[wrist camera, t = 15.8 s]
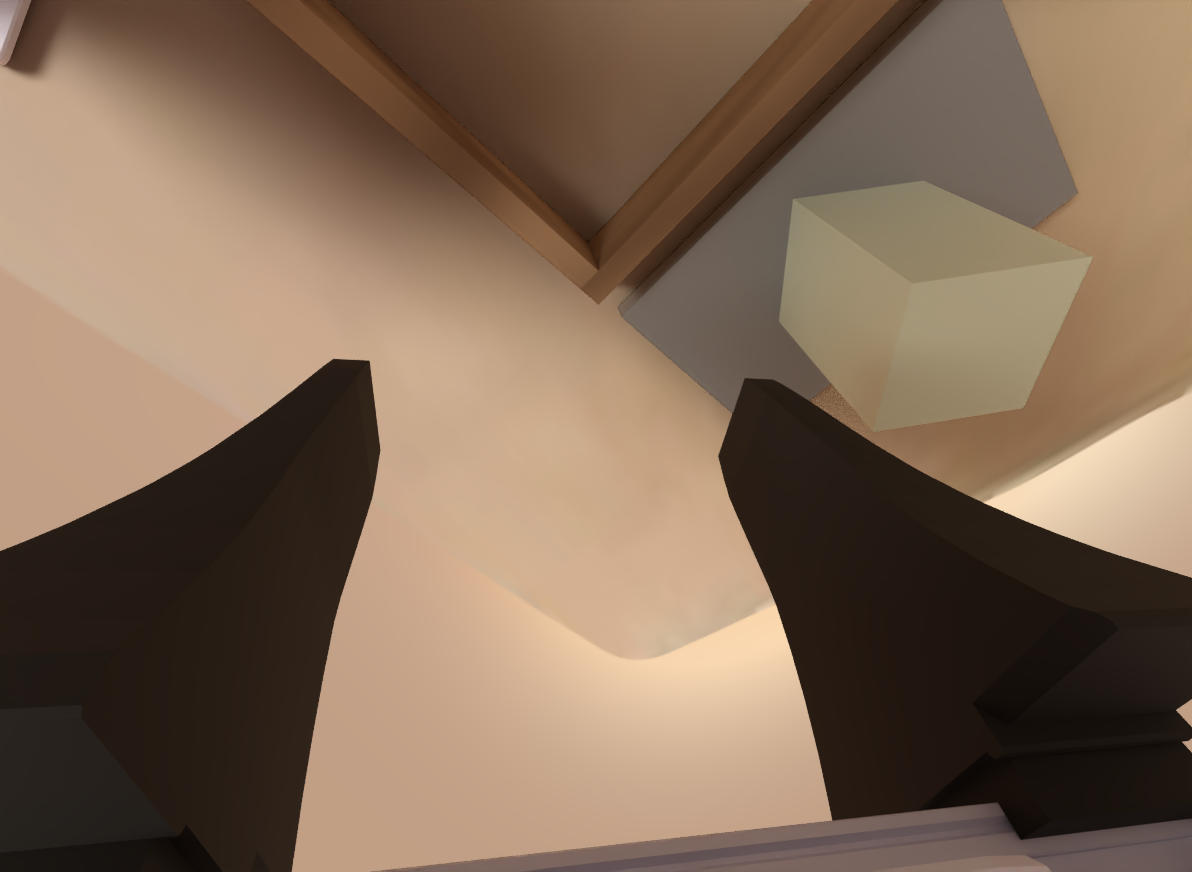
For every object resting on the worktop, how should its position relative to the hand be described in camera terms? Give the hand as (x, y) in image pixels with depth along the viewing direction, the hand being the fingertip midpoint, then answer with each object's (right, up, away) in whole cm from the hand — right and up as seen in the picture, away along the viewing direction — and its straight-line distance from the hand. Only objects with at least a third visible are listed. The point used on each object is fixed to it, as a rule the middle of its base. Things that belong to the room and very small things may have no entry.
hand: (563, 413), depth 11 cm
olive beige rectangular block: (+10, +6, +9) cm, 15 cm away
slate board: (+10, +7, +10) cm, 15 cm away
